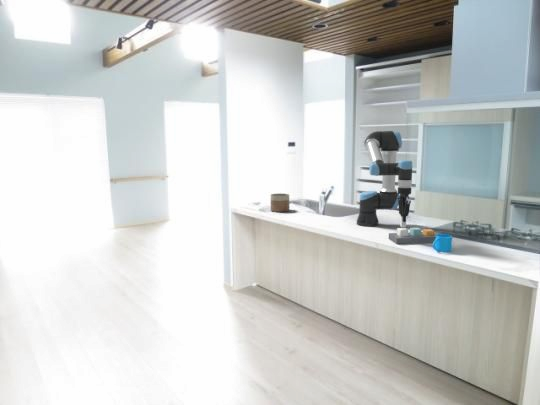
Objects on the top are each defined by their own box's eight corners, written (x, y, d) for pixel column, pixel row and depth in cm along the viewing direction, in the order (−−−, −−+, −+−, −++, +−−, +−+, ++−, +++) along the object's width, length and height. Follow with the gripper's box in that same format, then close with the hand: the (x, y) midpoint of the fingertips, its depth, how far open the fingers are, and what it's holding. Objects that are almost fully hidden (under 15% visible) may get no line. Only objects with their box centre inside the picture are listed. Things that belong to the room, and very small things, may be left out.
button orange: (422, 235, 239) (422, 229, 238) (430, 235, 239) (430, 229, 238) (426, 237, 234) (426, 231, 233) (434, 237, 234) (434, 231, 234)
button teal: (409, 234, 238) (410, 227, 237) (417, 233, 238) (417, 227, 238) (413, 236, 233) (413, 229, 232) (421, 235, 233) (421, 229, 233)
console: (388, 238, 241) (388, 233, 240) (432, 237, 243) (433, 231, 243) (396, 244, 229) (396, 238, 228) (442, 242, 232) (443, 236, 231)
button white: (396, 234, 237) (397, 228, 236) (404, 234, 237) (404, 228, 237) (400, 236, 232) (400, 230, 232) (408, 236, 233) (408, 229, 232)
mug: (442, 247, 221) (442, 233, 220) (454, 251, 214) (455, 236, 213) (426, 250, 216) (427, 235, 214) (439, 254, 209) (440, 239, 207)
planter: (279, 213, 326) (279, 196, 324) (266, 210, 338) (266, 194, 335) (293, 210, 337) (293, 194, 334) (280, 208, 348) (280, 192, 346)
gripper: (393, 186, 236) (392, 224, 240) (403, 188, 223) (401, 229, 227) (406, 185, 237) (404, 224, 241) (416, 188, 224) (414, 229, 228)
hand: (403, 226), depth 234 cm, fingers closed
